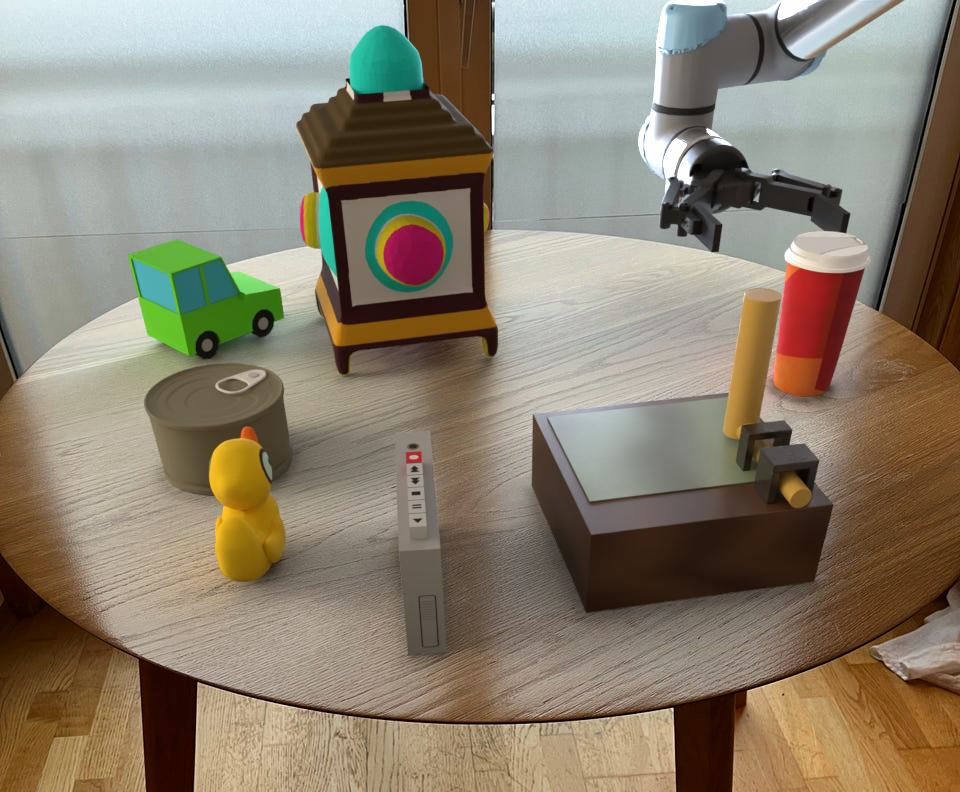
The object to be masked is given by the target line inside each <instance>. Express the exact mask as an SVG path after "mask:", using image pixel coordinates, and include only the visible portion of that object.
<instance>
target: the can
mask: <svg viewBox="0 0 960 792" xmlns="http://www.w3.org/2000/svg"><path fill="white" fill-rule="evenodd" d="M284 395H285V386H284V382H283V380H282V378H281V377H280V376H279V375H278V374H276V373H275V372H274V371H272V370H270V369H268V368H265V367H262V366H259V365H256V364H249V363H243V362H242V363H241V362H218V363H209V364H208V363H207V364H203V365H198V366H192V367H190V368H186V369H182V370H179V371H177V372H175V373H173V374H170V375H168V376H166V377H164V378H163V379H161V380H159V381H157V382H156V383H155V384H153V385H152V387H150V389H149V390H148V391H147V392H146V394H145V396H144V400H143V406H144V407H143V408H144V410H145V413H146V415H147V416H148V418H149V421H150V425H151V429H152V432H153V435H154V436H153V437H154V439H155V443H156V446H157V449H158V454H159V457H160V460H161V464H162V470H163V474H164V476H165V478H166V479H167V481H168V482H169V483H170V484H171V485H172V486H174V487H176V488H177V489H179V490H182V491H184V492H188V493H192V494H196V495H201V496H202V495H203V496H215V495H214V493H213V491H212V489H211V485H210V481H209V464H210V459H211V456H212V454H213V452H214V451H215V449H216V448H217V447H218V446H219V445H220V444H221V443H223V442H225V441H227V440H231V439H238V438H240V437H241V432H242V430H243V428H244V427H251V428H252V429H253V430H254V432H255V434H256V436H257V439H258V442H259V445H260V446H261V447H262V448H263V449H264V450H265V452H266V453H267V455H268V457H269V460H270V463H271V468H272V481H274V480H276V479H277V478H279V477H280V476H281V475H282V474H284V472H285V471H286V470H287V469H288V468H289V466H290V465H291V462H292V460H293V459H292V458H293V450H292V449H293V448H292V445H291V440H290V438H291V437H290V432H289V426H288V425H289V424H288V420H287V411H286V406H285V405H286V404H285V397H284Z"/></svg>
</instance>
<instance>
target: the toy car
mask: <svg viewBox="0 0 960 792" xmlns="http://www.w3.org/2000/svg"><path fill="white" fill-rule="evenodd" d="M127 259H128V263H129V267H130V271H131V274H132V279H133V282H134V287H135V290H136V295H137V299H138V303H139V307H140V310H141V314H142V318H143V322H144V326H145V331H146V335H147V336H149V337H151V339H154V340H156V341H158V342H160V343H163V344H164V345H166V346H168V347H170V348H172V349H174V350H176V351H179V352H180V353H182V354H184V355H186V356H188V357H191V356H193V355H195V356H197V357H199V358H201V359H203V360H208V359H212V358H213V357H214V356H215V355H216V354H217V352H218V350H219V347H220V345H222V344H224V343H227V342H229V341H232V340H234V339H237V338H240V337H243V336H244V335H248V334H250V333H251V334H252V335H254V336H257V337H259V338H264V337H267V336H268V335H270V334H271V333H272V331H273V330H274V329H273V328H274V326H275V323H276V322H278V321H282V320H283V319H285V314H284V313H285V312H284V306H283V298H282V297H283V296H282V292H281V288H280V287H278V286H275V285H273V284H272V283H268V282H266V281H263V280H261V279H259V278H256V277H253V276H251V275H248V274H246V273H243V272H241V271H232V272H230V270H229V268H228V266H227V264H226V263H225V261H224V259H223V258H222V256H220V255H218V254H215V253H213V252H211V251H208V250H205V249H203V248H201V247H198V246H195V245H193V244H191V243H188V242H186V241H183V240H180V239H177V238H176V239H173V240H170V241H167V242H164V243H161V244H157V245H153V246H151V247H148V248H147V247H146V248H144V249H140V250H138V251H135V252H132V253H127Z"/></svg>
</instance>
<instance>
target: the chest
mask: <svg viewBox="0 0 960 792" xmlns="http://www.w3.org/2000/svg"><path fill="white" fill-rule="evenodd" d="M728 395H729V392H722V393H712V394H702V395H694V396H693V395H692V396H684V397H676V398H666V399H657V400H647V401H638V402H630V403H619V404H611V405H610V404H609V405H603V406H593V407H585V408H574V409H573V408H572V409H565V410H557V411H547V412H539V413H532V434H531V435H532V438H531V439H532V440H531V444H532V446H531V450H532V451H531V488H532V491H533V493H534V495H535V497H536V499H537V501H538V504H539V507H540V509H541V511H542V513H543V516H544V518H545V520H546V523H547V525H548V527H549V530H550V532H551V534H552V536H553V539H554V542H555V543H556V545H557V548H558V551H559V553H560V556H561V557H562V561H563V562H564V565H565V567H566V570H567V571H568V573H569V577H570V578H571V581H572V583H573V585H574V588H575V591H576V592H577V595H578V598H579V599H580V602H581V605H582V607H583V608H584V611H585V613H586V614H588V613H595V612H604V611H610V610H617V609H624V608H631V607H632V608H633V607H639V606H647V605H654V604H655V605H656V604H660V603H661V604H662V603H668V602H669V603H671V602H676V601H683V600H692V599H698V598H704V597H713V596H720V595H727V594H735V593H741V592H742V593H743V592H750V591H756V590H763V589H764V590H765V589H773V588H778V587H786V586H787V587H788V586H794V585H799V584H800V585H801V584H807V583H814V582H815V581H816V576H817V573H818V570H819V565H820V561H821V557H822V553H823V549H824V546H825V541H826V537H827V533H828V529H829V525H830V521H831V518H832V514H833V509H834V506H835V504H834V503H833V501H832V500H831V499H830V497H828V495H827V494H826V493H825V492H824V491H823V490H822V488H821V487H820V486H819V485H818V484H817V483H816V478H817V475H818V474H817V473H818V469H819V468H818V467H819V465H820V458H818V457H817V455H816V454H815V453H814V452H813V451H812V450H811V448H810V447H808V446H809V445H807V444H806V443H805V442H803V443H802V442H801V443H794V444H791V440H792V434H793V431H794V430H793V428H792V427H791V426H790V425H789V424H788V422H787V421H786V420H775V421H774V420H773V421H764V420H763V418H762V417H760V418H759V423H756V424H747V425H742V426H741V433H740V439H739V440H736V439H732V438H729V437H728V436H726V435H725V434H724V432H723V427H724V421H725V414H726V408H727V401H728ZM765 439H768V440H769V442H770V443H771V444H772V445H773V446H774V447H768V448H761V449H760V454H759V459H758V463H757V461H756V460H755V459H754V457H753V451H754V445H755V441H756V440H765ZM792 470H793V471H794V472H795V473H796V474H797V475H798V477H799V478H800V479H801V480H802V482H803V483H804V484H805V485H806V486H807V488H808V489H809V490H810V491H811V493H812V497H811V500H810V501H809V503H808V504H807V505H805V506H804V507H801V508H794V507H792V506H791V505H790V503H789V502H788V501H787V500H786V498H785V497H784V496H783V494H782V493H781V492H780V491H779V489H778V488H777V487H778V482H779V477H780V472H783V471H792Z"/></svg>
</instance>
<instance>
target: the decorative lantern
mask: <svg viewBox="0 0 960 792" xmlns="http://www.w3.org/2000/svg"><path fill="white" fill-rule="evenodd" d="M422 63H423V62H422V59H421V56H420V53H419V50H418V49H417V48H416V47H415V46H414V44H412V42H411V41H410V40H409V39H408V38H407V36H405V35H404V34H403V33H402V32H401V31H399V30H398V29H396V27H392V26H389V25H387V24H381V25H377V26H374V27H372V28H371V29H369V30H367V31H366V32H365V33H364V35H363V36H362V37H361V38H360V39H359V40H358V42H357V44H356V45H355V47H354V48H353V50H352V51H351V54H350V56H349V64H348V73H349V77H347V78H345V86H344V87H341V88H338V89H337V92H336V95H335V96H331V97H330V98H329V99H328V101H327V102H319V103H314V104H312V105H311V106H310V108H309V111H307V112H304V113H302V114H301V118H300V119H299V120H298V121H297V122H296V123H295V124H296V125H295V127H296V130H297V133H298V136H299V138H300V140H301V142H302V145H303V148H304V149H305V151H306V154H307V156H308V159H309V163H310V172H311V179H312V187H313V188H312V189H313V192H312V191H311V192H308V193H306V194H305V195H304V196H303V197H302V199H301V203H300V207H299V227H300V235H301V238H302V241H303V242H304V244H305V245H306V246H307V247H308V248H312V249H316V250H317V249H318V250H320V253H321V270H320V273H319V275H318V279H317V280H316V285H315V288H314V295H315V302H316V307H317V311H318V313H319V315H320V317H322V318H323V321H324V324H325V327H326V330H327V333H328V336H329V339H330V342H331V346H332V350H333V354H334V355H333V356H334V362H335V366H336V370H337V372H338V374H339V375H340V376H341V377H348V376H349V375H350V373H351V360H352V356H353V354H355V353H357V352H360V351H369V350H375V349H385V348H391V347H399V346H400V347H401V346H409V345H417V344H425V343H432V342H441V341H449V340H457V339H464V338H465V339H466V338H474V337H479V338H481V343H482V350H483V353H484V355H485V357H487V358H489V359H490V358H494V357H495V356H496V354H497V352H498V347H499V328H498V324H497V322H496V319H495V317H494V314H493V312H492V310H491V307H490V306H489V304H488V302H487V299H486V276H485V275H486V272H485V269H486V268H485V265H486V264H485V233H486V232H487V230H488V228H489V226H490V217H491V216H490V209H489V207H488V205H487V204H486V203H485V201H484V200H485V199H484V198H485V197H484V184H485V183H484V182H485V177H486V173H487V171H488V168H489V167H490V164H491V162H492V159H493V156H494V148H493V147H492V145H491V144H490V143H489V142H488V141H487V140H486V138H485V137H484V134H482V133H481V132H480V131H479V130H478V129H477V128H476V127H475V126H474V125H473V124H472V123H471V122H470V121H469V120H468V119H467V118H466V116H465V115H463V114H462V113H461V111H459V109H458V108H457V107H456V106H455V105H454V104H453V103H452V102H451V101H450V100H449V99H448V98H447V97H446V96H445V95H443V94H439V93H433V92H432V91H431V90H430V87H429V86H428V84H426V83H425V81H424V76H423V75H424V73H423V64H422Z"/></svg>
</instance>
